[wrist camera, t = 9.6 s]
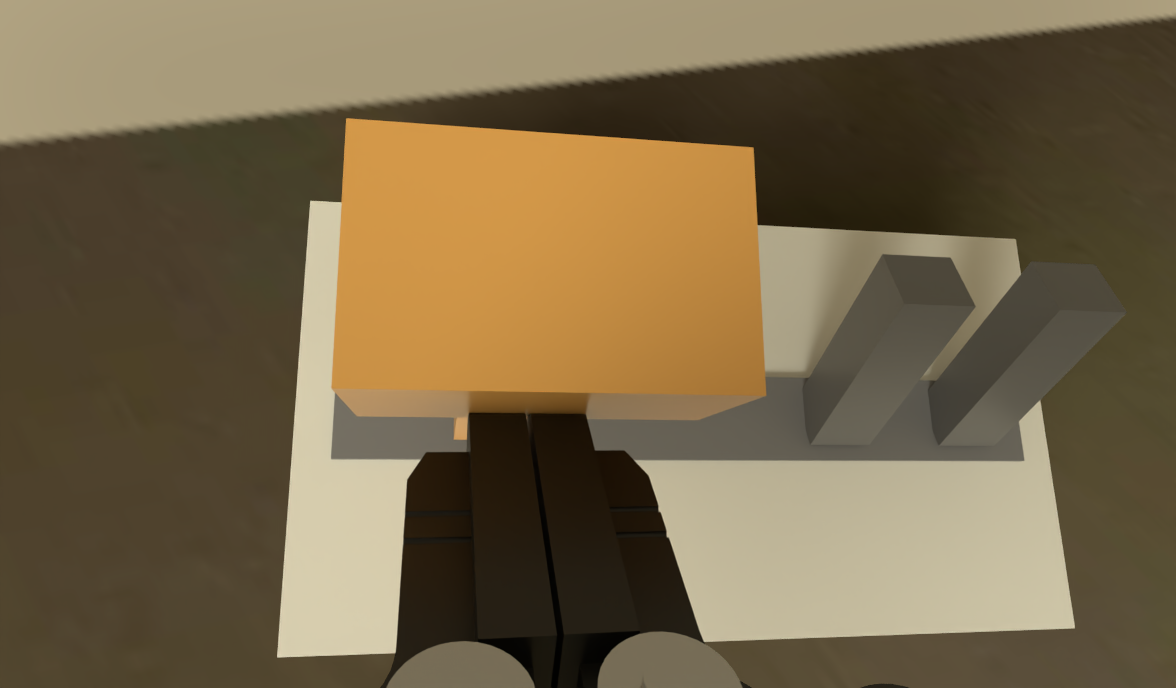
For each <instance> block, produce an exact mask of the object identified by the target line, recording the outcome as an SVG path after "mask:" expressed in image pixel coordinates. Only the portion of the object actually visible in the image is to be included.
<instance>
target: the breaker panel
mask: <svg viewBox="0 0 1176 688" xmlns="http://www.w3.org/2000/svg"><path fill="white" fill-rule="evenodd" d="M341 206H342V203H340V202H322V201H310V214H309V228H308V241H307V255H306V269H305V283H304V296H303V310H302V324H301V338H300V351H299V365H298V379H297V393H296V406H295V420H294V434H293V448H292V461H291V475H290V489H289V502H288V516H287V530H286V544H285V557H284V571H283V585H282V599H281V612H280V626H279V640H278V654H277V657H301V656H328V655H355V654H383V653H395V652H396V642H397V626H398V611H399V596H400V580H401V565H402V550H403V534H404V519H405V503H406V488H407V479H408V477H409V476H410V475H411V473H412V472H413V470H414V469H415V467H416V466H417V464H418V463H419V462H420V460H421V459H422V457H423V456H424V454H425V453H426V452H466V449H467V440H454V418H451V417H364V416H356V415H355V414H354V413H353V412H352V411H351V409H350V408H349V407H348V406H347V405H346V404H345V403H344V402H343V401H342V400H341V399H340V397H339V396H338V395H337V394H336V393H335V392H334V391H333V390H332V389H331V385H332V367H333V349H334V331H335V313H336V295H337V277H338V260H339V242H340V224H341ZM758 244H759V264H760V283H761V303H762V322H763V341H764V361H765V380H766V396H765V397H762V398H759V399H756V400H753V401H750V402H748V403H745V404H742V405H739V406H736V407H734V408H731V409H728V410H725V411H722V412H719V413H717V414H714V415H711V416H708V417H705V418H703V419H700V420H626V419H587V420H588V424H589V428H590V432H591V436H592V440H593V444H594V448H595V450H625V451H626V452H627V453H628V454H629V455H630V456H631V457H632V458H633V460H634V461H635V462H636V463H637V464H638V465H639V466H640V467H641V468H642V469H643V470H644V471H645V472H646V473H647V474H648V476H649V478H650V481H651V484H652V487H653V490H654V493H655V496H656V499H657V502H658V505H659V507H658V509H659V512H661V515H662V518H663V521H664V524H665V527H666V530H667V537H669V539H670V542H671V545H672V548H673V551H674V554H675V557H676V560H677V563H678V567H679V570H680V573H681V576H682V579H683V582H684V585H685V588H686V591H687V594H688V597H689V600H690V603H691V606H692V609H693V612H694V615H695V618H696V622H697V625H698V628H699V631H700V633H701V636H702V638H703V641H704V642H711V641H738V640H766V639H793V638H820V637H848V636H875V635H902V634H930V633H957V632H984V631H1012V630H1039V629H1067V628H1075V625H1074V619H1073V612H1072V606H1071V599H1070V593H1069V586H1068V580H1067V573H1066V566H1065V560H1064V553H1063V547H1062V540H1061V534H1060V527H1059V521H1058V514H1057V507H1056V501H1055V494H1054V488H1053V481H1052V475H1051V468H1050V462H1049V455H1048V448H1047V442H1046V435H1045V429H1044V422H1043V416H1042V409H1041V403H1040V400H1041V399H1042V398H1043V397H1044V396H1045V395H1046V394H1047V393H1048V392H1049V391H1050V389H1051V388H1052V387H1053V386H1054V385H1055V384H1056V383H1057V382H1058V381H1059V380H1060V379H1061V378H1062V377H1063V376H1064V375H1065V374H1066V373H1067V372H1068V371H1069V370H1070V369H1071V368H1072V367H1073V366H1074V365H1075V364H1076V363H1077V362H1078V361H1079V360H1080V359H1081V358H1082V357H1083V356H1084V355H1085V354H1086V353H1087V352H1088V351H1089V350H1090V349H1091V348H1092V347H1093V346H1094V345H1095V344H1096V343H1097V342H1098V341H1099V340H1100V339H1101V338H1102V337H1103V336H1104V335H1105V334H1106V333H1107V332H1108V331H1109V330H1110V329H1111V328H1112V327H1113V326H1114V325H1115V324H1116V323H1117V322H1118V321H1119V320H1120V319H1121V318H1122V317H1123V316H1124V315H1125V314H1126V313H1127V312H1126V310H1125V309H1124V307H1123V306H1122V304H1121V303H1120V301H1119V300H1118V298H1117V297H1116V295H1115V294H1114V292H1113V291H1112V289H1111V288H1110V286H1109V285H1108V283H1107V282H1106V280H1105V279H1104V277H1103V276H1102V274H1101V273H1100V271H1099V270H1098V268H1097V267H1096V265H1092V264H1072V263H1051V262H1031V263H1030V264H1029V265H1028V266H1027V268H1026V269H1025V270H1024V271H1023V273H1022V274H1021V271H1020V265H1019V258H1018V252H1017V245H1016V239H1002V238H984V237H965V236H947V235H929V234H910V233H892V232H873V231H855V230H837V229H818V228H800V227H781V226H763V225H758Z"/></svg>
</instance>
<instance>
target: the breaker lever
mask: <svg viewBox="0 0 1176 688" xmlns="http://www.w3.org/2000/svg"><path fill="white" fill-rule="evenodd" d="M331 389H332V390H333V391H334V392H335V393H336V394H337V395H338V396H339V397H340V399H341V400H342V401H343V402H344V403H345V404H346V405H347V406H348V407H349V408H350V409H351V411H352V412H353V413H354V414H355V415H356V416H364V417H451V418H454V440H467V423H468V414H469V413H525V414H526V419H527V416H528V415H529V414H530V413H542V414H586V417H587V419H626V420H700V419H703V418H705V417H708V416H711V415H714V414H717V413H719V412H722V411H725V410H728V409H731V408H734V407H736V406H739V405H742V404H745V403H748V402H750V401H753V400H756V399H759V398H762V397H765V396H766V380H765V361H764V341H763V322H762V303H761V283H760V264H759V244H758V225H757V205H756V186H755V167H754V147H740V146H726V145H712V144H698V143H684V142H670V141H655V140H641V139H627V138H613V137H599V136H585V135H571V134H557V133H543V132H529V131H515V130H501V129H487V128H473V127H459V126H445V125H431V124H417V123H403V122H389V121H375V120H361V119H347V118H346V134H345V152H344V170H343V188H342V206H341V224H340V242H339V260H338V277H337V295H336V313H335V331H334V349H333V367H332V385H331Z"/></svg>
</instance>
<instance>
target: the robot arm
mask: <svg viewBox="0 0 1176 688" xmlns="http://www.w3.org/2000/svg"><path fill="white" fill-rule="evenodd" d="M658 507H659V505H658V502H657V499H656V496H655V493H654V490H653V487H652V484H651V481H650V478H649V476H648V474H647V473H646V472H645V471H644V470H643V469H642V468H641V467H640V466H639V465H638V464H637V463H636V462H635V461H634V460H633V458H632V457H631V456H630V455H629V454H628V453H627V452H626V451H625V450H595V448H594V444H593V440H592V436H591V432H590V428H589V424H588V420H587V417H586V414H542V413H530V414H529V415H528V416H527V419H526V414H525V413H469V414H468V423H467V449H466V452H426V453H425V454H424V456H423V457H422V459H421V460H420V462H419V463H418V464H417V466H416V467H415V469H414V470H413V472H412V473H411V475H410V476H409V477H408V479H407V488H406V503H405V519H404V534H403V550H402V565H401V580H400V596H399V611H398V626H397V642H396V652H395V658H394V662H393V665H392V668H391V670H390V673H389V674H388V676H387V678H386V680H385V682H384V683H383V685H382V686H381V687H380V688H751V687H750V686H748V685H746V684H744V683H743V682H741V681H739V679H738V677H737V675H736V674H735V672H734V670H733V669H732V668H731V667H730V665H729V664H728V663H727V662H726V661H725V660H724V659H723V658H722V657H721V656H720V655H719V654H718V653H717V652H716V651H714V650H713V649H711V648H710V647H709V646H707V645H705V643H704V641H703V638H702V636H701V633H700V631H699V628H698V625H697V622H696V618H695V615H694V612H693V609H692V606H691V603H690V600H689V597H688V594H687V591H686V588H685V585H684V582H683V579H682V576H681V573H680V570H679V567H678V563H677V560H676V557H675V554H674V551H673V548H672V545H671V542H670V539H669V537H667V530H666V527H665V524H664V521H663V518H662V515H661V512H659V509H658ZM862 688H908V687H904V686H899V685H894V684H874V685H868V686H865V687H862Z"/></svg>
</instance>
